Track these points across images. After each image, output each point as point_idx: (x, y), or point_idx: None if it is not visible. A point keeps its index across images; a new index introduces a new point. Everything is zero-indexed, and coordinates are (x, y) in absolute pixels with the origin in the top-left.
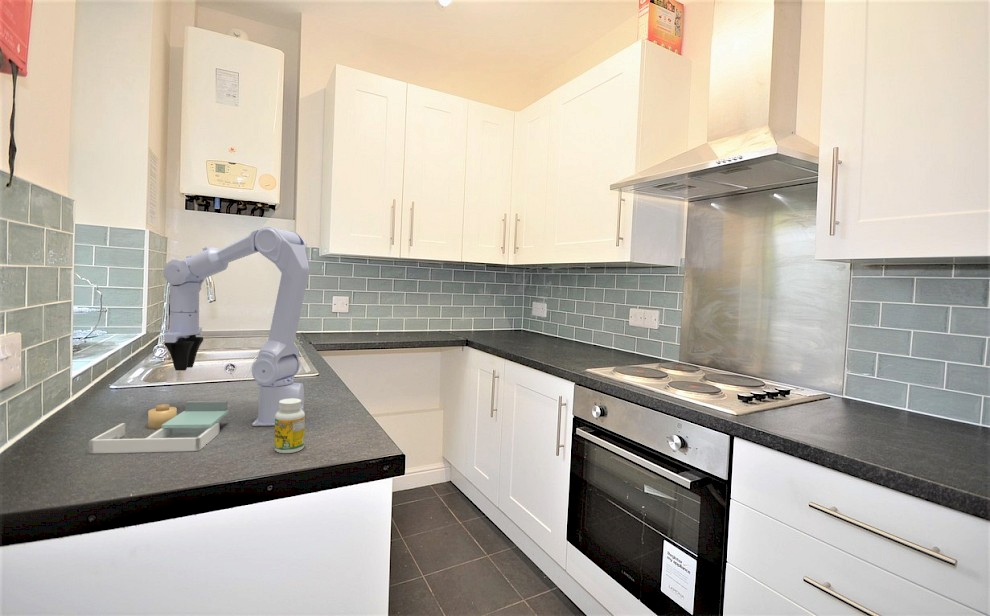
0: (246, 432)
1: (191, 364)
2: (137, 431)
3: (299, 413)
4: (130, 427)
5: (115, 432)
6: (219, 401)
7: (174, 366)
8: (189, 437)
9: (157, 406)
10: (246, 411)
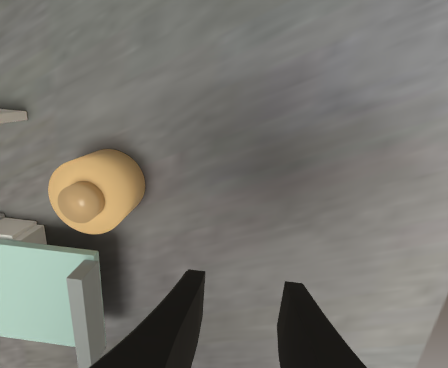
0: (67, 353)
1: (279, 342)
2: (59, 138)
3: None
4: (92, 103)
5: None
6: (85, 356)
7: (179, 282)
8: None
9: (60, 194)
10: (230, 339)
